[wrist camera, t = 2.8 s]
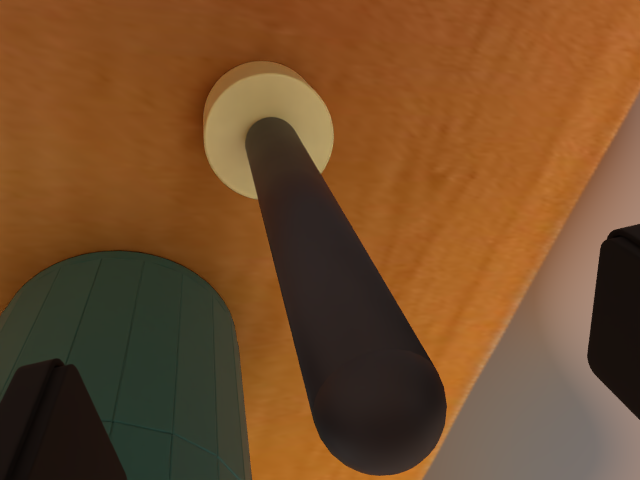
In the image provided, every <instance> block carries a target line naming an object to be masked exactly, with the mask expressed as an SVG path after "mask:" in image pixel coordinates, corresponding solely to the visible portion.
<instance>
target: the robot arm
mask: <svg viewBox="0 0 640 480" xmlns="http://www.w3.org/2000/svg"><path fill="white" fill-rule="evenodd" d="M587 358H588V363H589V365H590V368H591V369H592V371H593V373H594V374H595V375H596V376H597V377H598V378H599V379H600V380H601V381H602V382H603V383H604V384H605V385H606V386H607V387H608V388H609V389H610V390H611V391H612V392H613V393H614V394H615V395H616V396H617V397H618V398H619V399H620V400H621V401H622V402H623V403H624V404H625V405H626V407H628V409H629V410H631V412H632V413H633V414H635V416H636V417H638V419H639V420H640V224H638V225H634V226H630V227H625V228H620V229H616V230H613V231H612V232H611V233H610V234H609V235H608V237H607V240H605V241H604V242H603V243H602V245H601V248H600V257H599V264H598V272H597V280H596V289H595V297H594V305H593V313H592V322H591V330H590V337H589V345H588V354H587ZM0 480H127V476H126V473H125V471H124V469H123V467H122V465H121V462H120V460H119V458H118V456H117V454H116V452H115V449H114V447H113V445H112V443H111V441H110V438H109V436H108V434H107V432H106V430H105V428H104V425H103V423H102V421H101V419H100V417H99V415H98V412H97V410H96V408H95V406H94V404H93V402H92V399H91V397H90V395H89V393H88V391H87V389H86V386H85V384H84V382H83V380H82V378H81V376H80V373H79V371H78V369H77V368H76V366H75V365H73V364H69V365H65V364H64V363H63V362H62V361H61V360H60V359H58V358H55V359H50V360H46V361H42V362H37V363H33V364H29V365H24V366H21V367H19V368H18V369H17V370H16V372H15V374H14V376H13V378H12V380H11V382H10V384H9V386H8V388H7V390H6V392H5V394H4V396H3V398H2V400H1V402H0Z"/></svg>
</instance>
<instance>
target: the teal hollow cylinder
mask: <svg viewBox="0 0 640 480" xmlns="http://www.w3.org/2000/svg"><path fill="white" fill-rule="evenodd" d="M55 358H58V359H60V360H61V361H62V362H63V363H64V364H65V365H69V364H73V365H75V366H76V368H77V369H78V371H79V373H80V376H81V378H82V380H83V382H84V384H85V386H86V389H87V391H88V393H89V395H90V397H91V399H92V402H93V404H94V406H95V408H96V410H97V412H98V415H99V417H100V419H101V421H102V423H103V425H104V428H105V430H106V432H107V434H108V436H109V438H110V441H111V443H112V445H113V447H114V449H115V452H116V454H117V456H118V458H119V460H120V462H121V465H122V467H123V469H124V471H125V473H126V476H127V480H252V475H251V465H250V455H249V445H248V435H247V425H246V415H245V405H244V395H243V385H242V375H241V366H240V356H239V346H238V342H237V338H236V331H235V326H234V322H233V319H232V317H231V314H230V312H229V310H228V308H227V306H226V304H225V303H224V301H223V300H222V298H221V297H220V296H219V295H218V293H217V292H216V291H215V290H214V289H213V288H212V287H211V286H210V285H209V284H208V283H207V282H206V281H205V280H203V279H202V278H201V277H199V276H198V275H197V274H195V273H194V272H192V271H190V270H189V269H187V268H185V267H183V266H181V265H179V264H177V263H174V262H172V261H170V260H167V259H164V258H161V257H157V256H154V255H149V254H144V253H138V252H128V251H105V252H96V253H90V254H84V255H80V256H77V257H73V258H69V259H67V260H64V261H62V262H59V263H57V264H55V265H52V266H51V267H49V268H47V269H45V270H44V271H42V272H40V273H39V274H37V275H36V276H35V277H33V278H32V279H31V280H29V281H28V282H27V283H26V284H25V285H24V286H23V287H22V288H21V289H20V290H19V291H18V292H17V293H16V295H15V296H14V298H13V299H12V300H11V302H10V303H9V305H8V307H7V308H6V309H5V310H4V311H3V312H2V314H1V316H0V402H1V400H2V398H3V396H4V394H5V392H6V390H7V388H8V386H9V384H10V382H11V380H12V378H13V376H14V374H15V372H16V370H17V369H18V368H19V367H21V366H24V365H29V364H33V363H37V362H42V361H46V360H50V359H55Z"/></svg>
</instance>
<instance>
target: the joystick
mask: <svg viewBox="0 0 640 480" xmlns="http://www.w3.org/2000/svg"><path fill="white" fill-rule="evenodd" d="M203 136H204V148H205V153H206V156H207V159H208V162H209V164H210V166H211V168H212V169H213V171H214V173H215V174H216V175H217V177H218V178H219V179H220V180H221V181H222V182H223V183H224V184H225V185H226V186H227V187H229V188H230V189H232V190H233V191H235V192H237V193H239V194H241V195H243V196H246V197H249V198H253V199H257V200H258V201H259V205H260V209H261V213H262V217H263V221H264V225H265V229H266V233H267V237H268V241H269V245H270V249H271V253H272V257H273V261H274V265H275V269H276V273H277V277H278V280H279V284H280V288H281V292H282V296H283V300H284V304H285V308H286V312H287V316H288V320H289V324H290V328H291V332H292V336H293V340H294V344H295V348H296V352H297V356H298V360H299V364H300V368H301V372H302V376H303V380H304V384H305V388H306V392H307V396H308V400H309V404H310V408H311V412H312V416H313V420H314V423H315V426H316V428H317V431H318V434H319V436H320V438H321V440H322V441H323V443H324V444H325V445H326V447H327V448H328V450H329V451H330V452H331V454H332V455H334V456H335V457H336V458H337V459H338V460H340V461H341V462H342V463H343V464H345V465H346V466H348V467H350V468H352V469H354V470H356V471H359V472H361V473H365V474H369V475H378V476H380V475H393V474H398V473H401V472H404V471H407V470H409V469H411V468H413V467H414V466H416V465H417V464H419V463H420V462H421V461H422V460H423V459H425V458H426V457H427V456H428V455H429V454H430V453H431V451H432V450H433V449H434V448H435V446H436V444H437V443H438V441H439V439H440V436H441V434H442V431H443V428H444V425H445V419H446V409H447V404H446V398H445V391H444V386H443V384H442V381H441V379H440V377H439V374H438V372H437V370H436V368H435V367H434V365H433V363H432V362H431V360H430V358H429V357H428V355H427V353H426V351H425V350H424V348H423V346H422V345H421V343H420V341H419V340H418V338H417V336H416V335H415V333H414V331H413V329H412V328H411V326H410V324H409V323H408V321H407V319H406V318H405V316H404V314H403V313H402V311H401V309H400V307H399V306H398V304H397V302H396V301H395V299H394V297H393V296H392V294H391V292H390V291H389V289H388V287H387V285H386V284H385V282H384V280H383V279H382V277H381V275H380V274H379V272H378V270H377V269H376V267H375V265H374V263H373V262H372V260H371V258H370V257H369V255H368V253H367V252H366V250H365V248H364V247H363V245H362V243H361V241H360V240H359V238H358V236H357V235H356V233H355V231H354V230H353V228H352V226H351V225H350V223H349V221H348V219H347V218H346V216H345V214H344V213H343V211H342V209H341V208H340V206H339V204H338V203H337V201H336V199H335V197H334V196H333V194H332V192H331V191H330V189H329V187H328V186H327V184H326V182H325V181H324V179H323V177H322V175H321V173H322V172H323V170H324V168H325V167H326V165H327V163H328V161H329V158H330V155H331V152H332V148H333V140H334V131H333V124H332V119H331V116H330V113H329V111H328V109H327V107H326V105H325V103H324V101H323V100H322V99H321V97H320V96H319V95H318V94H317V93H316V91H315V90H314V89H313V88H312V87H311V86H310V85H309V84H308V83H307V82H306V81H305V80H304V79H303V78H302V77H301V76H300V75H299V74H298V73H296V72H295V71H293V70H292V69H290V68H288V67H286V66H284V65H281V64H278V63H275V62H269V61H254V62H249V63H245V64H242V65H239V66H237V67H235V68H233V69H231V70H229V71H228V72H227V73H225V74H224V75H223V76H222V77H221V78H220V79H219V80H218V81H217V82H216V83H215V85H214V86H213V87H212V89H211V91H210V93H209V95H208V97H207V100H206V103H205V107H204V114H203Z"/></svg>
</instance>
